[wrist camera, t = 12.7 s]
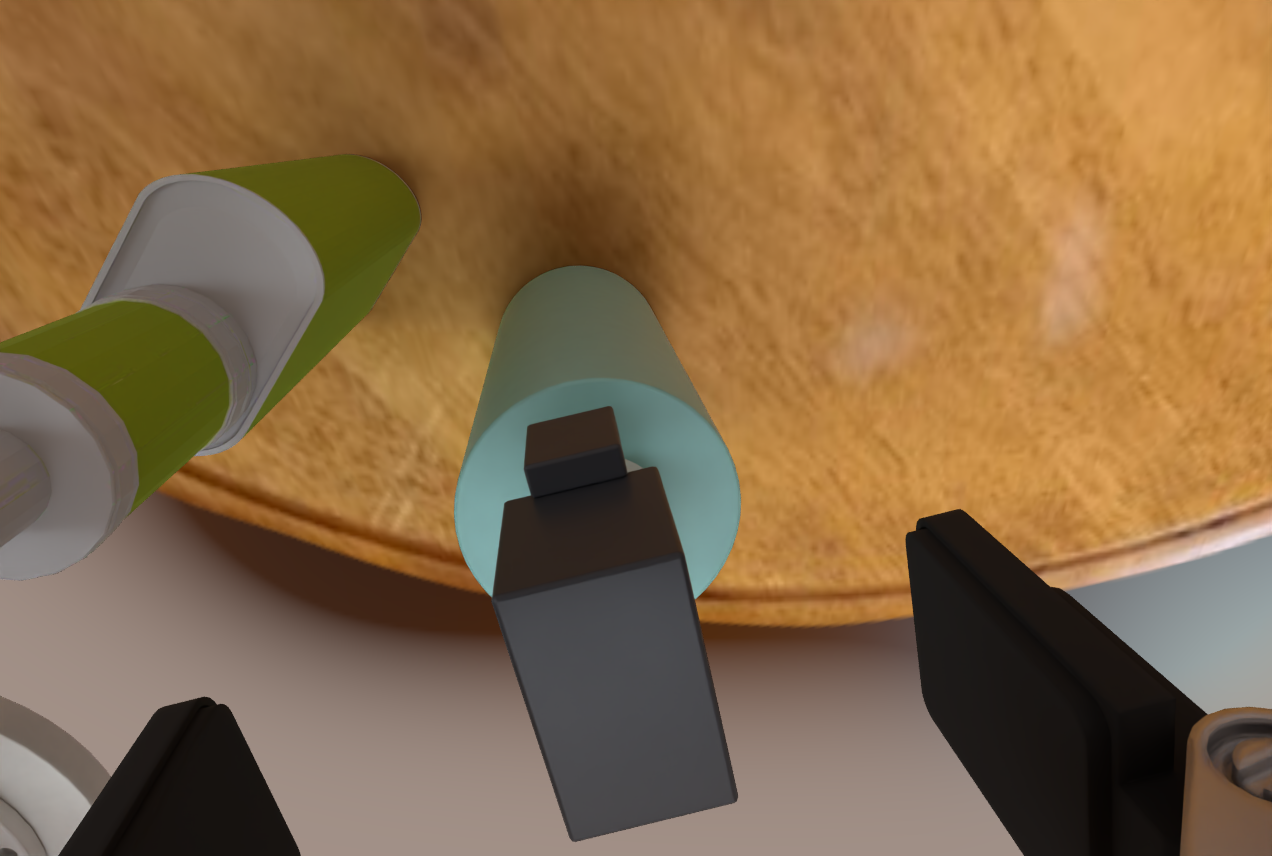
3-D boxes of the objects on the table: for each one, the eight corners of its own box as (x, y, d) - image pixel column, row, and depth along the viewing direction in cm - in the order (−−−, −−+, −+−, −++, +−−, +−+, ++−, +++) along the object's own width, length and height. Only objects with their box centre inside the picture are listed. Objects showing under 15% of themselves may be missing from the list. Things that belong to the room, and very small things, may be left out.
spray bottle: (477, 286, 29) (339, 577, 10) (641, 248, 29) (802, 466, 10) (521, 439, 31) (474, 910, 12) (674, 402, 31) (856, 816, 12)
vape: (253, 284, 28) (-344, 594, 9) (337, 133, 27) (-168, 146, 8) (351, 342, 29) (-13, 726, 10) (437, 200, 28) (194, 349, 9)
